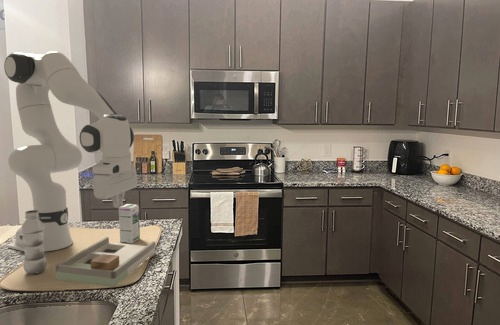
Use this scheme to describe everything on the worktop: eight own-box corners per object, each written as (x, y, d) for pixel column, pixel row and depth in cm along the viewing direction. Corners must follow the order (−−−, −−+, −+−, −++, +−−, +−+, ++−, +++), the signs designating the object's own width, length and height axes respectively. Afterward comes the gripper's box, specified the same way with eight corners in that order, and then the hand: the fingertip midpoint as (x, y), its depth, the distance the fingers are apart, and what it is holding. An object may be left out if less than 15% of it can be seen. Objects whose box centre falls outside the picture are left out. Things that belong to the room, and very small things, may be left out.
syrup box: (133, 243, 147) (132, 207, 145) (119, 242, 148) (118, 206, 146) (140, 238, 153) (139, 204, 151) (126, 237, 154) (125, 203, 152)
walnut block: (91, 273, 114) (90, 261, 113) (102, 265, 120) (102, 254, 119) (108, 275, 113) (108, 263, 112) (119, 267, 119) (119, 255, 118)
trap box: (56, 279, 115) (55, 265, 115) (106, 248, 142) (106, 236, 141) (114, 286, 111) (114, 272, 111) (155, 253, 138) (155, 241, 137)
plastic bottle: (31, 278, 116) (27, 215, 113) (19, 272, 119) (15, 212, 117) (51, 270, 121) (47, 211, 118) (39, 266, 125) (36, 207, 122)
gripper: (125, 160, 131) (126, 198, 133) (88, 168, 111) (90, 213, 113) (141, 161, 130) (142, 199, 132) (107, 170, 110) (109, 215, 112)
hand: (118, 206), depth 122 cm, fingers closed
